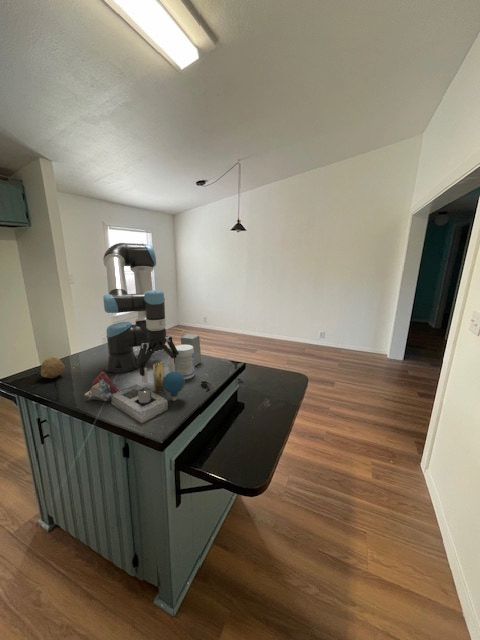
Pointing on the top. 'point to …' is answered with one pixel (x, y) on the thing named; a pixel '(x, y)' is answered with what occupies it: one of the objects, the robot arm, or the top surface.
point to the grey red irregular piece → (102, 388)
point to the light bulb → (173, 383)
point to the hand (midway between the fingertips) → (159, 376)
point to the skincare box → (195, 343)
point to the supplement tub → (185, 361)
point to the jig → (139, 402)
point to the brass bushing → (158, 376)
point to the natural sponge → (52, 367)
